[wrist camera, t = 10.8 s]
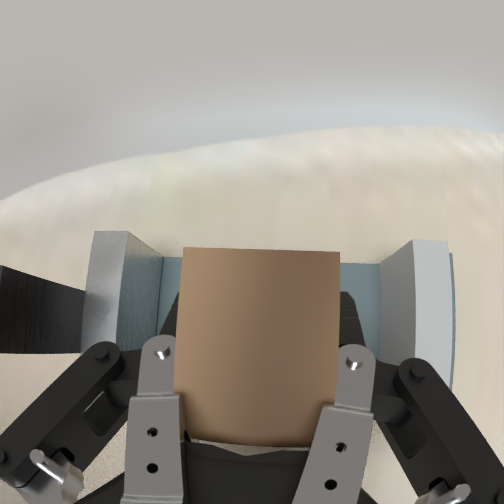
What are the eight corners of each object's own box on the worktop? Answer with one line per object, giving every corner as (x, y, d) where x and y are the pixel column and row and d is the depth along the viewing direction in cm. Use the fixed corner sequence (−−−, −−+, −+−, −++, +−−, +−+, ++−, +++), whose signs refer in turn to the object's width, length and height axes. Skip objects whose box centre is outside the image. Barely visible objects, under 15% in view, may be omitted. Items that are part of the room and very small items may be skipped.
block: (227, 383, 15) (172, 435, 7) (232, 292, 17) (183, 247, 8) (302, 387, 15) (330, 446, 6) (306, 295, 16) (339, 252, 8)
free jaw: (104, 391, 16) (-21, 418, 6) (114, 254, 18) (1, 187, 9) (152, 402, 16) (37, 454, 6) (163, 256, 18) (59, 178, 8)
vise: (116, 388, 18) (58, 403, 12) (126, 260, 20) (72, 231, 14) (415, 403, 16) (467, 426, 10) (418, 270, 18) (470, 242, 12)
